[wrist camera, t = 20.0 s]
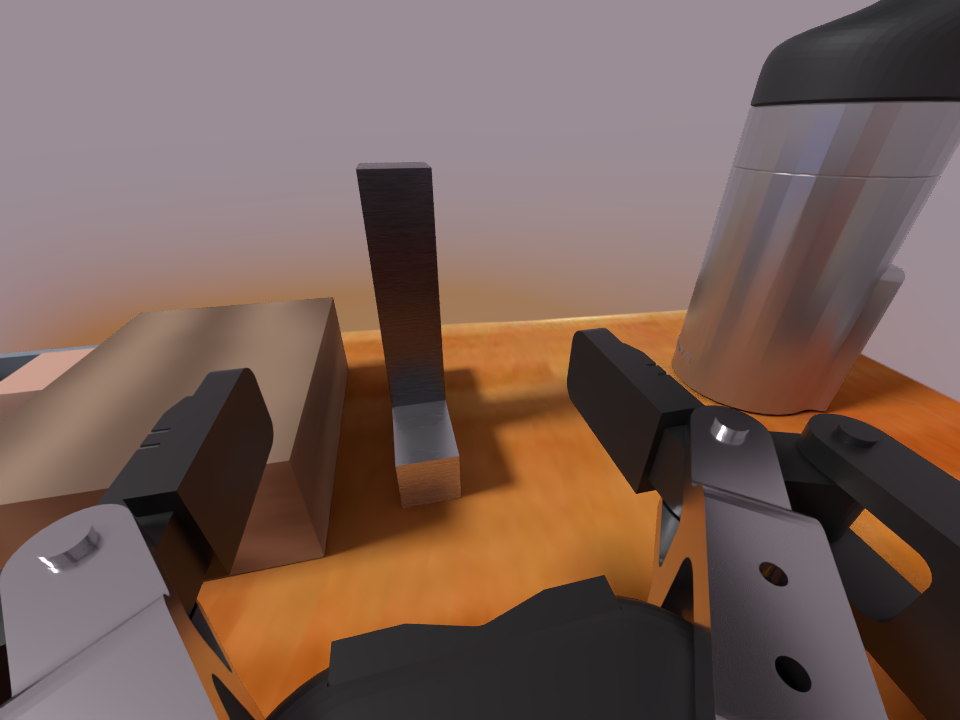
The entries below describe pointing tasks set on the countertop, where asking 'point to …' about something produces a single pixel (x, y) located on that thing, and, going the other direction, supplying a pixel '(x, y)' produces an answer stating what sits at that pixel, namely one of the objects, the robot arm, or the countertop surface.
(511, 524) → the countertop surface
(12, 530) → the marbled brown box
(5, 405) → the pink block
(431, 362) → the dark grey tall part
